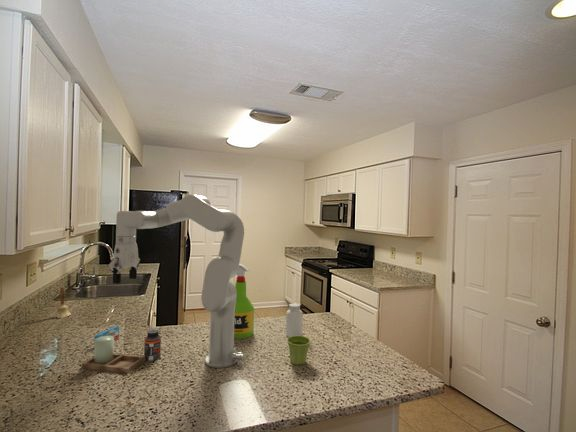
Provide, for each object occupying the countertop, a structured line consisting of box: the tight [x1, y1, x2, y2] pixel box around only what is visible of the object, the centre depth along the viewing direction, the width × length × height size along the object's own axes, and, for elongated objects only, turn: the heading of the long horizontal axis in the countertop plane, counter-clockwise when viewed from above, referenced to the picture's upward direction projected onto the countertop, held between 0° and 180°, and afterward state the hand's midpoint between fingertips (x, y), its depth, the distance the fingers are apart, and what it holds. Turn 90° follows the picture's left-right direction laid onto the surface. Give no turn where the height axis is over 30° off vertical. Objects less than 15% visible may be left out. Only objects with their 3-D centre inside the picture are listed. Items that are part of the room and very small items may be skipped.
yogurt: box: [94, 325, 120, 341], centre depth 137 cm, size 12×2×6 cm, turn 167°
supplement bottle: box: [143, 329, 162, 362], centre depth 124 cm, size 6×6×11 cm
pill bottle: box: [285, 303, 304, 338], centre depth 152 cm, size 8×8×15 cm
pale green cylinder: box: [93, 336, 115, 365], centre depth 118 cm, size 6×6×9 cm
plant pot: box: [286, 335, 311, 366], centre depth 124 cm, size 9×9×9 cm
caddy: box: [81, 352, 146, 374], centre depth 118 cm, size 19×10×2 cm, turn 80°
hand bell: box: [54, 287, 72, 318], centre depth 174 cm, size 8×8×16 cm
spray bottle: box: [234, 263, 255, 339], centre depth 154 cm, size 14×18×35 cm
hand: (125, 280), depth 131 cm, fingers open, 9 cm apart
